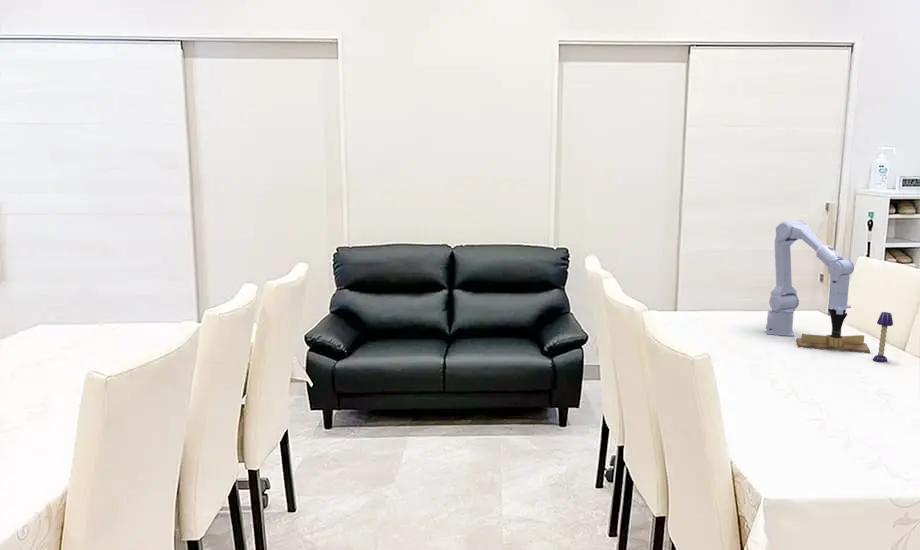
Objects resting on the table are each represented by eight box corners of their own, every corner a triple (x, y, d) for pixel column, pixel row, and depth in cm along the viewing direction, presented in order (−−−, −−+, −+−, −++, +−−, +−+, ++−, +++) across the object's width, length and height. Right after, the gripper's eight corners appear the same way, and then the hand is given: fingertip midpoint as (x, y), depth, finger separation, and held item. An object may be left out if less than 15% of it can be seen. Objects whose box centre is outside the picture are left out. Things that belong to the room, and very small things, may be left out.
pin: (831, 335, 261) (833, 316, 260) (831, 333, 264) (832, 314, 263) (841, 336, 260) (842, 317, 259) (840, 334, 263) (841, 315, 262)
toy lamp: (885, 359, 248) (889, 311, 246) (892, 363, 244) (896, 314, 241) (870, 358, 249) (874, 311, 246) (877, 362, 244) (881, 314, 242)
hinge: (801, 344, 264) (802, 336, 264) (800, 338, 272) (801, 330, 272) (866, 349, 257) (867, 341, 256) (863, 343, 265) (864, 335, 264)
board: (797, 347, 264) (797, 344, 264) (796, 340, 274) (796, 337, 274) (869, 353, 256) (869, 350, 256) (865, 346, 265) (865, 343, 265)
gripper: (854, 297, 252) (851, 335, 254) (849, 290, 265) (846, 326, 267) (831, 296, 254) (828, 334, 256) (827, 289, 268) (825, 325, 270)
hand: (836, 330), depth 262 cm, fingers closed on pin, 3 cm apart
